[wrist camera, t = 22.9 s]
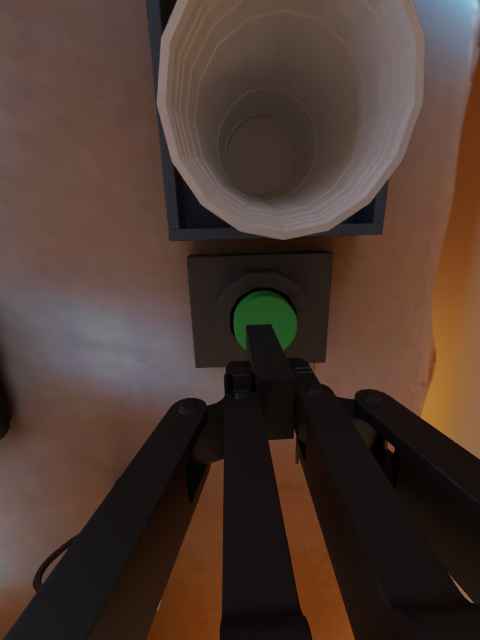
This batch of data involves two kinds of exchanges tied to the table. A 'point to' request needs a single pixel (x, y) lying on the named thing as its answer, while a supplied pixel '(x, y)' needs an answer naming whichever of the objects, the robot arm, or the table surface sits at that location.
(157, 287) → the table surface
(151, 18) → the shallow tray
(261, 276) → the control block
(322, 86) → the plastic cup
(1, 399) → the carrying case
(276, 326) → the button
